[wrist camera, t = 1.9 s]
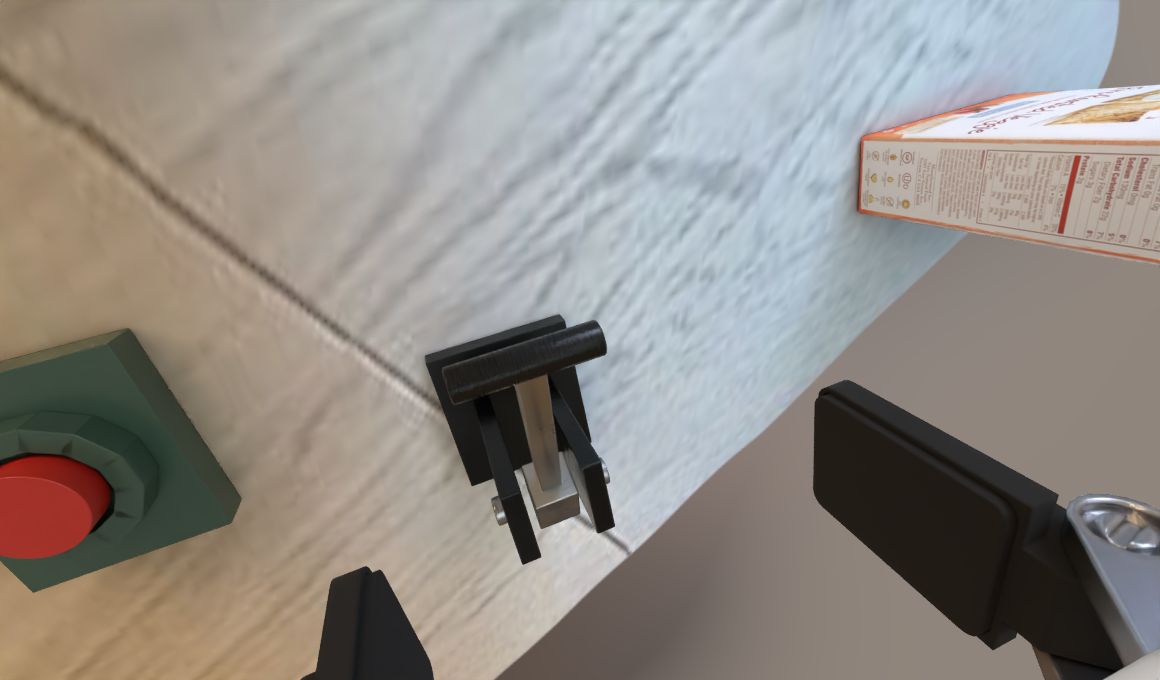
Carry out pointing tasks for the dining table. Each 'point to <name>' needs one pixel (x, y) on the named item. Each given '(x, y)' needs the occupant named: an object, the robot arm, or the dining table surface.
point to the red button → (48, 505)
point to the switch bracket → (521, 435)
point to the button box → (112, 450)
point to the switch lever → (533, 405)
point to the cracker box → (1029, 171)
